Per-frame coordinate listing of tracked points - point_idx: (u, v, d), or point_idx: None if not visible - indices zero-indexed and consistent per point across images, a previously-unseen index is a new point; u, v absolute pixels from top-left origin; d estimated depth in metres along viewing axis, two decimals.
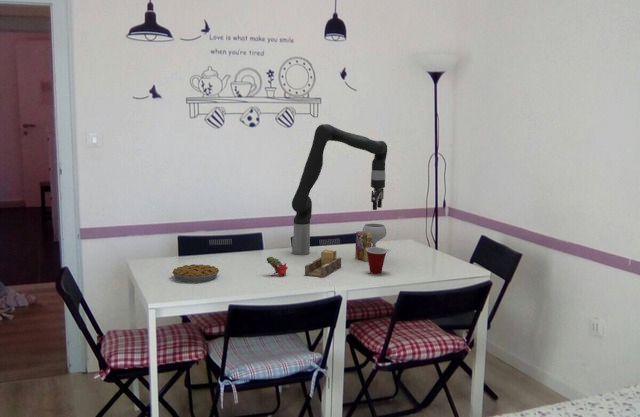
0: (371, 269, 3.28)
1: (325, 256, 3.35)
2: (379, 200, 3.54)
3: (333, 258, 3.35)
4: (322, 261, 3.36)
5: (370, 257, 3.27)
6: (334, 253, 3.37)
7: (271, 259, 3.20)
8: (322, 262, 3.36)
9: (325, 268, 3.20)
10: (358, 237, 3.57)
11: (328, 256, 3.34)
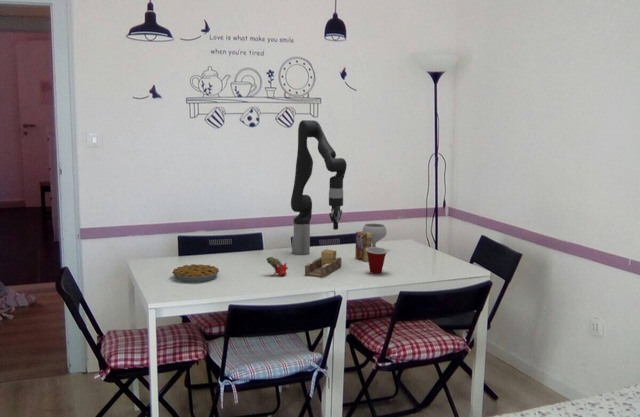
0: (371, 269, 3.28)
1: (325, 256, 3.35)
2: None
3: (333, 258, 3.35)
4: (322, 261, 3.36)
5: (370, 257, 3.27)
6: (334, 253, 3.37)
7: (271, 259, 3.20)
8: (322, 262, 3.36)
9: (325, 268, 3.20)
10: (358, 237, 3.57)
11: (328, 256, 3.34)
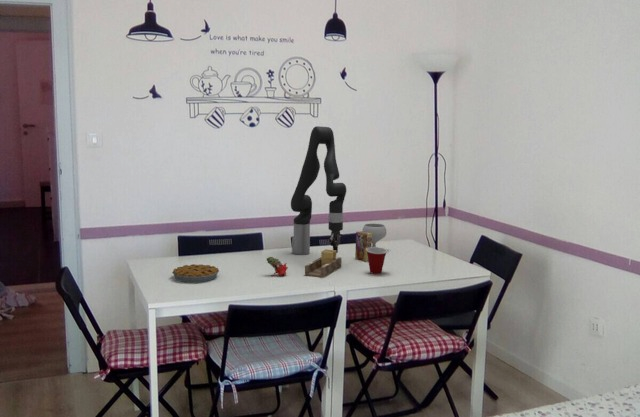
0: (371, 269, 3.28)
1: (325, 256, 3.35)
2: None
3: (333, 258, 3.35)
4: (322, 261, 3.36)
5: (370, 257, 3.27)
6: (334, 253, 3.37)
7: (271, 259, 3.20)
8: (322, 262, 3.36)
9: (325, 268, 3.20)
10: (358, 237, 3.57)
11: (328, 256, 3.34)
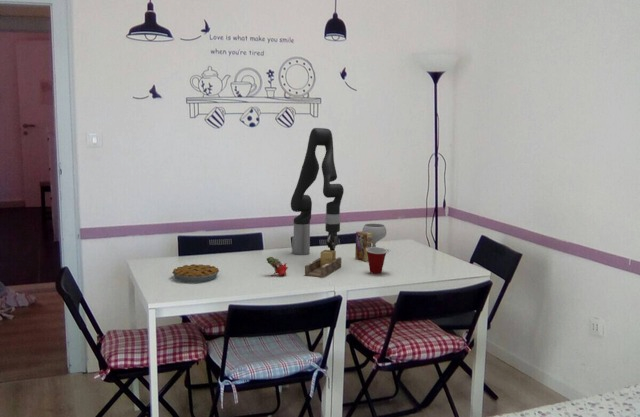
0: (371, 269, 3.28)
1: (324, 257, 3.34)
2: None
3: (332, 258, 3.34)
4: (321, 261, 3.35)
5: (370, 257, 3.27)
6: (334, 253, 3.36)
7: (271, 259, 3.20)
8: (321, 262, 3.35)
9: (325, 268, 3.20)
10: (358, 237, 3.57)
11: (327, 256, 3.33)
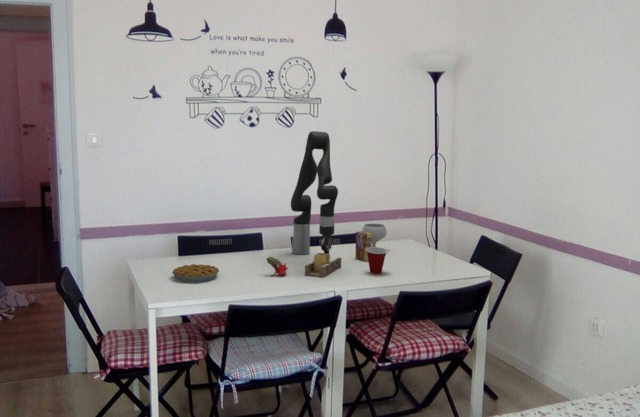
0: (371, 269, 3.28)
1: (318, 260, 3.26)
2: None
3: (326, 262, 3.27)
4: (315, 265, 3.27)
5: (370, 257, 3.27)
6: (328, 256, 3.28)
7: (271, 259, 3.20)
8: (315, 266, 3.27)
9: (325, 268, 3.20)
10: (358, 237, 3.57)
11: (321, 259, 3.26)
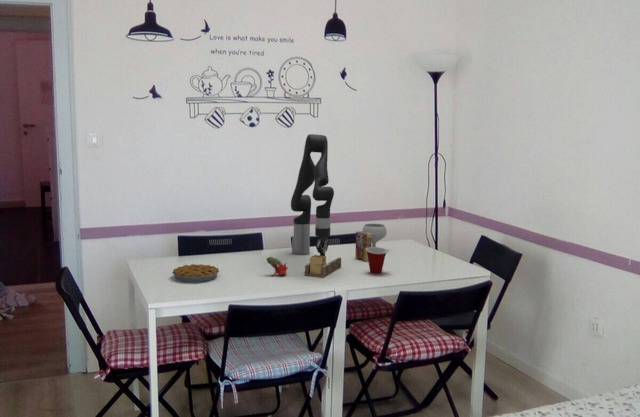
0: (371, 269, 3.28)
1: (314, 262, 3.22)
2: None
3: (322, 264, 3.22)
4: (311, 267, 3.22)
5: (370, 257, 3.27)
6: (324, 259, 3.23)
7: (271, 259, 3.20)
8: (311, 268, 3.23)
9: (325, 268, 3.20)
10: (358, 237, 3.57)
11: (317, 262, 3.21)
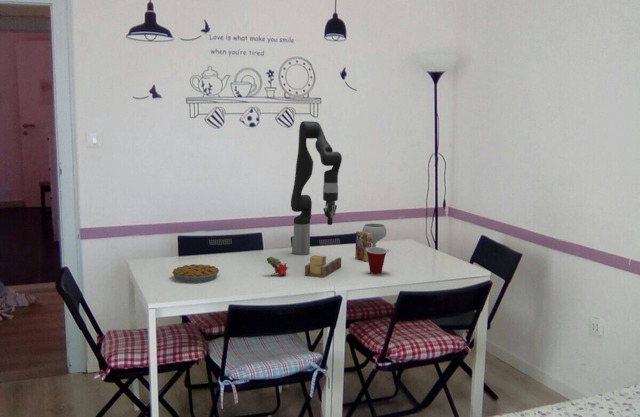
0: (371, 269, 3.28)
1: (314, 262, 3.21)
2: None
3: (322, 264, 3.22)
4: (311, 267, 3.22)
5: (370, 257, 3.27)
6: (324, 259, 3.23)
7: (271, 259, 3.20)
8: (311, 268, 3.22)
9: (325, 268, 3.20)
10: (358, 237, 3.57)
11: (317, 262, 3.21)
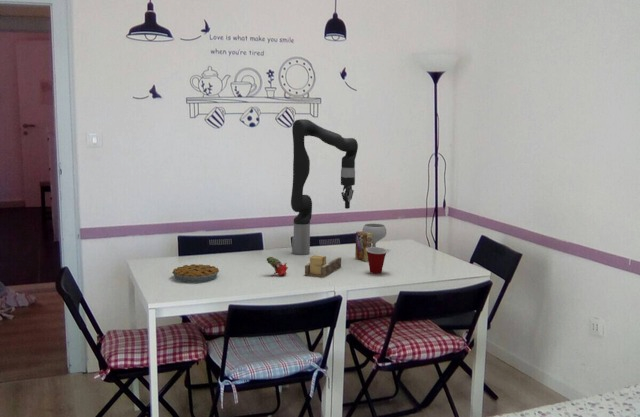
0: (371, 269, 3.28)
1: (314, 262, 3.21)
2: None
3: (322, 264, 3.22)
4: (311, 267, 3.22)
5: (370, 257, 3.27)
6: (324, 259, 3.23)
7: (271, 259, 3.20)
8: (311, 268, 3.22)
9: (325, 268, 3.20)
10: (358, 237, 3.57)
11: (317, 262, 3.21)
